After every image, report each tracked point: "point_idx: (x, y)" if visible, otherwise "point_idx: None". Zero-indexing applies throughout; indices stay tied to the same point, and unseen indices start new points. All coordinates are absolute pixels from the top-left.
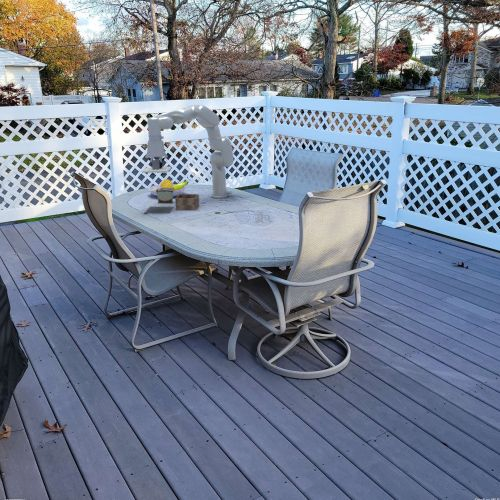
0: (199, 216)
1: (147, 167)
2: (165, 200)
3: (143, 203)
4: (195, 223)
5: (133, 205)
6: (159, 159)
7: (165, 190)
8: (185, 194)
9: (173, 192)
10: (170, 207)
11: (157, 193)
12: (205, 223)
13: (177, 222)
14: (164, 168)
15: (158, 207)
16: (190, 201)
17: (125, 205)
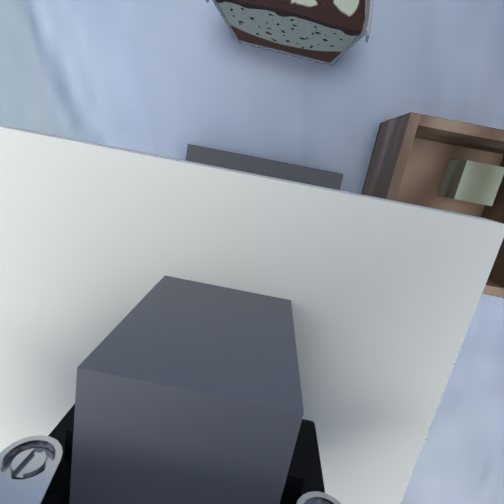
0: (461, 379)
1: (8, 255)
2: (287, 44)
3: (129, 6)
4: (419, 479)
5: (72, 60)
6: (241, 407)
7: (297, 14)
8: (463, 133)
9: (367, 41)
10: None
11: (223, 8)
12: (465, 487)
13: None
14: (341, 415)
15: None
16: None
17: (19, 51)
